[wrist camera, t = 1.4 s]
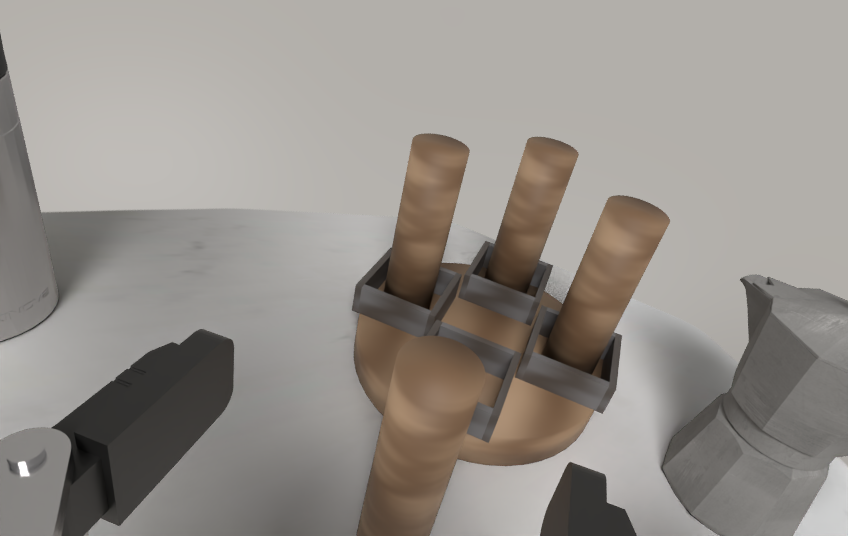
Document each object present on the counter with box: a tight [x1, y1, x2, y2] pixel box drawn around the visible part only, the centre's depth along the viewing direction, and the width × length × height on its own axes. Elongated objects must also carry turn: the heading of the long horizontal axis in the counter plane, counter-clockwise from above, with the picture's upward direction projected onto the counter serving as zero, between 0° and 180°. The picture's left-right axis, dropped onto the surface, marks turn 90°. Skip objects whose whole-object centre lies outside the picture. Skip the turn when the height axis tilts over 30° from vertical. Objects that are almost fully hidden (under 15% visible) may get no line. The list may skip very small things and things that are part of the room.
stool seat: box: [352, 134, 670, 466], centre depth 41 cm, size 20×20×17 cm
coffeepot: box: [662, 275, 848, 536], centre depth 34 cm, size 15×9×18 cm, turn 34°
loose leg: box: [357, 336, 486, 536], centre depth 28 cm, size 4×4×14 cm
